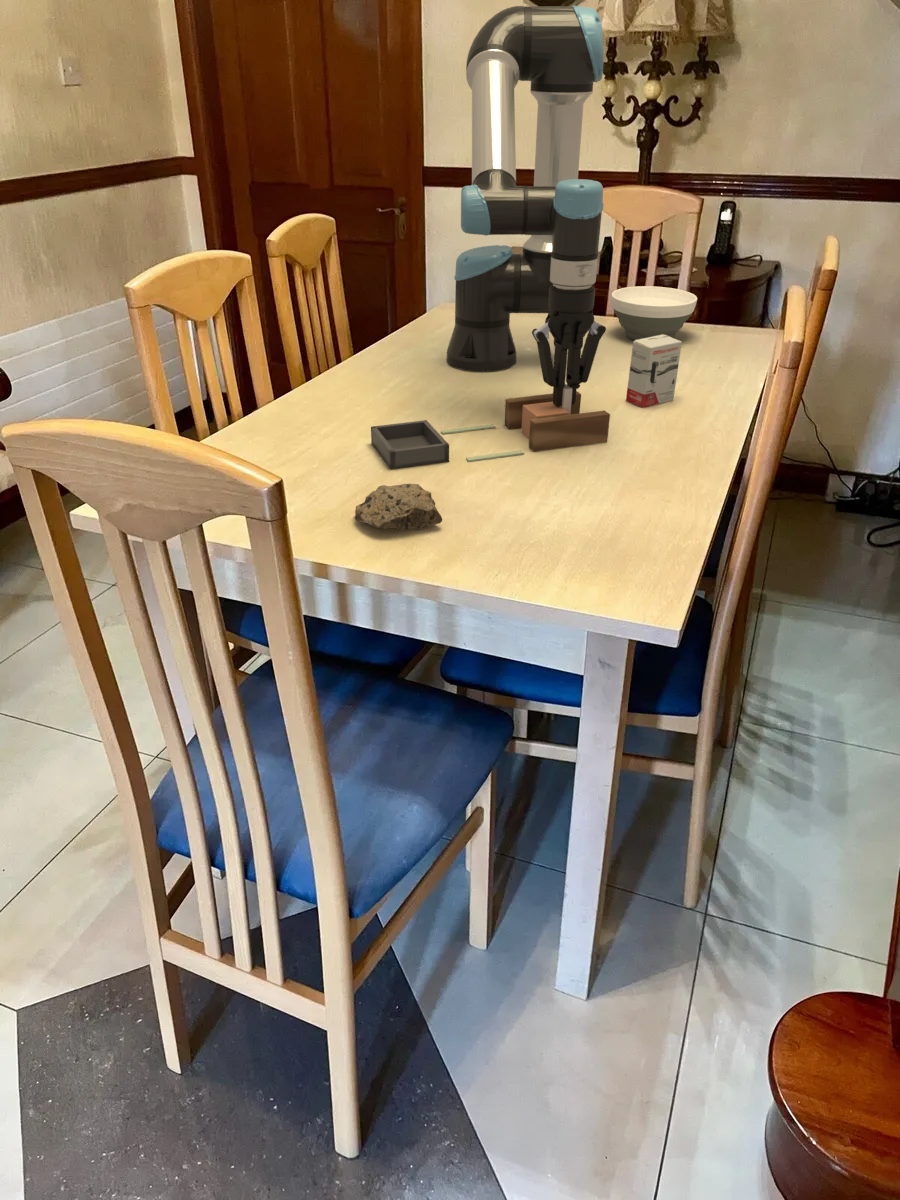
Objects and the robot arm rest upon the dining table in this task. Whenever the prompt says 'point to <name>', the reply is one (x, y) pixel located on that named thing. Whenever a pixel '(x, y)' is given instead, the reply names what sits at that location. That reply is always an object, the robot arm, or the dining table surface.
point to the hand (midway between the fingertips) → (562, 422)
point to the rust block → (539, 414)
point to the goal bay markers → (482, 457)
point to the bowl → (652, 310)
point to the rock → (399, 508)
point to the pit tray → (409, 444)
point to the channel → (558, 424)
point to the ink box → (653, 370)
